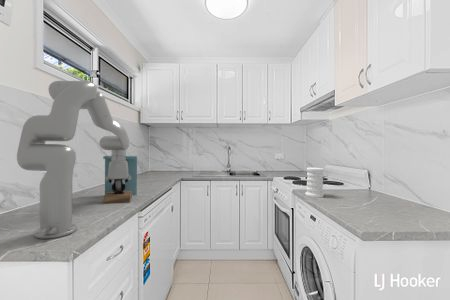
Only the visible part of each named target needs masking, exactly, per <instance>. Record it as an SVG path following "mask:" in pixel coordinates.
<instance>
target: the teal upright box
mask: <svg viewBox="0 0 450 300" xmlns="http://www.w3.org/2000/svg"><path fill="white" fill-rule="evenodd" d="M110 156H111V155H103V157H102V159H103V160H104V195H105V194H106V193H107V192H108V191H113V190H112V184H111V183H110V182H109V181H107V180H105V178H106V176H107V175H108V171H109V163H110V161H111V159H109V157H110ZM126 161H127V163H128V173H129V174H130V176H131V177H132V179H130V180H129V181H127V182H126V183H125V189H124V191H130V190H132V196H137V194H138V155H126ZM128 178H129V177H128ZM128 178H126V179H128ZM126 179H125V180H126ZM111 180H112V179H111ZM114 183H115V182H114Z"/></svg>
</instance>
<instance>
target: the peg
mask: <svg viewBox="0 0 450 300" xmlns="http://www.w3.org/2000/svg"><path fill="white" fill-rule="evenodd" d="M122 184H123V181H122V179H115V194H122Z"/></svg>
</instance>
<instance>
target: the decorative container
mask: <svg viewBox="0 0 450 300" xmlns="http://www.w3.org/2000/svg"><path fill="white" fill-rule="evenodd" d="M306 171H307V173H306V174H307V175H306V176H307V177H306V191H305V192H304V193H305V194H304V195H305V196H306V197H309V198H310V197H312V198H324V197H325V194H324V193H323V191H324V189H323V186H324V182H323V181H324V178H323V177H324V172H325V168H322V167H306ZM323 196H324V197H323Z"/></svg>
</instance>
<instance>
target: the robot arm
mask: <svg viewBox="0 0 450 300" xmlns="http://www.w3.org/2000/svg"><path fill="white" fill-rule="evenodd" d="M48 93H49V96H50V97H51V99H52V100H53V102H52V105H51V110H50V112H49V114H48V115H44V114H43V115H41V114H39V115H38V114H37V115H32V116H31V117H28V119H26V120H25V121H24V124H23V126H22V130H21V135H20V138H19V142H18V143H19V144H18V147H17V152H16V161H17V165H18V166H19V167H20V168H21V169H23V170H24V171H34V172H35V171H39V172H41V171H42V172H45V174H44V175H43V176H42V178H41V180H40V182H39V228H38V229H36V230H35V231H34V232H33V236H34V238H36V239H42V240H43V239H46V240H47V239H54V238H55V239H56V238H61V237H65V236H67V235H71V234H73V233H75V232H76V231H77V230H78V225H77V224H76V223H73V175H74V168H75V164H76V158H77V155H76V152H75V150H74V149H73V148H72V147H71V146H69V145H66V144H58V143H55V144H54V143H46V142H68V141H71V140H73V139H74V137H75V134H76V130H77V125H78V121H79V120H78V119H79V113H80V110H87V112H88V113H89V116H90V118H91V121H92V123H93V125H95V126H96V127H98V128H100V129H102V130H105V131H108V132H109V133H112V134H114V135H106V136H103V137H101V138H100V139H99V146H100V148H101V149H102V150H104V151H110V152H111V155H109V156H110V157H109V159H111V161H110V163H109V171H108V175H107V176H106V178H105V177H104V181H105V180H107V181H109V182H110V183H111V184H112V190H113V192H114V191H115V183H114V182H115V179H122V181H123V184H122V191H124V189H125V183H126V182H127V181H129V180H130V179H132V177H131V176H130V174H129V173H128V163H127V161H126V156H127V150H128V149H129V147H130V137H129V135H128V133H127V131H126V128H125V127H124V126H122V125H121V124H120V123H119V122H118V121H117V120H115V119H114V118H113V117H112V114H111V112H110V109H109V107H108V104H107V101H106V98H105V95H103V93H102V92H100V91H98V89H97V86H96V84H94V83H93V82H91V81H88V80H54V81H52V82H51V83H50V84H49V85H48ZM128 177H129V178H128ZM126 178H128V179H126ZM111 179H112V180H111ZM125 179H126V180H125Z"/></svg>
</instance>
